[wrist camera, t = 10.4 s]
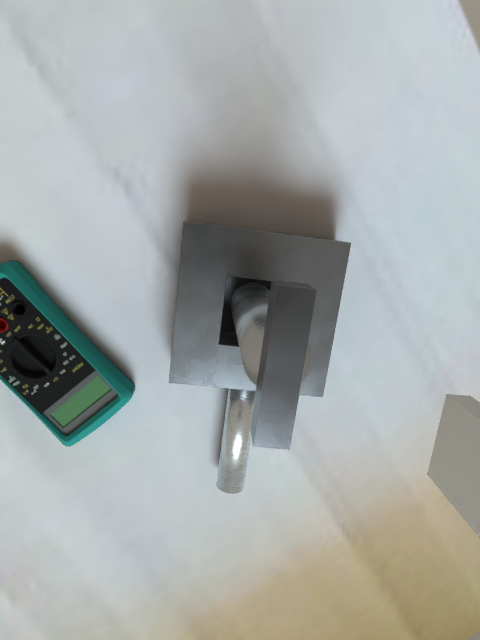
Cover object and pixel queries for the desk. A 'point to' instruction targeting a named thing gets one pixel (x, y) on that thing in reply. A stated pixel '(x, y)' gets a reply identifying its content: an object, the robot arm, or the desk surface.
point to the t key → (274, 353)
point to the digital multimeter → (54, 361)
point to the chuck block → (222, 347)
